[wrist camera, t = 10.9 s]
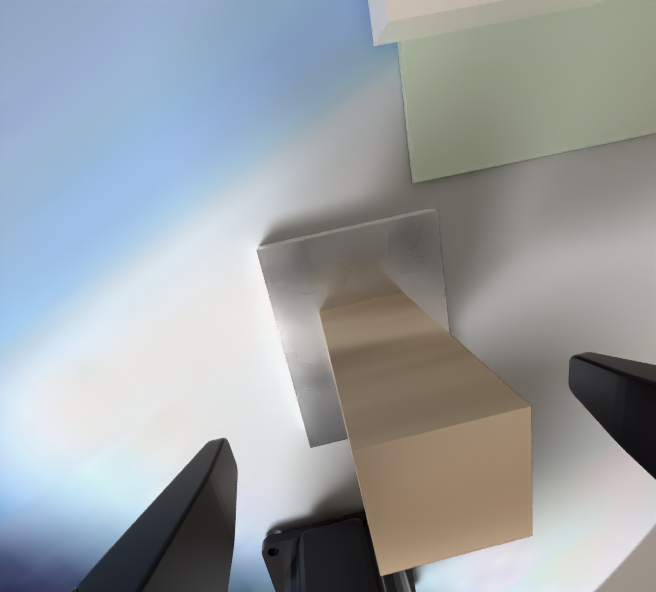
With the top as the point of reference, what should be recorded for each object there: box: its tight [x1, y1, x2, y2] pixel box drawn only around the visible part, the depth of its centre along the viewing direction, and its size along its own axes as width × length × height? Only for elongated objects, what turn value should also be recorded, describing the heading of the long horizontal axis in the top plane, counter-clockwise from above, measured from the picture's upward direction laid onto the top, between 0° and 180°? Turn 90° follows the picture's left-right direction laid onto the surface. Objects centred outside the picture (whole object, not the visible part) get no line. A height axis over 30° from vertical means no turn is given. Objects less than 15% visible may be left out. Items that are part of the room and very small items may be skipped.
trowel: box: [257, 209, 533, 576], centre depth 9 cm, size 8×6×8 cm
